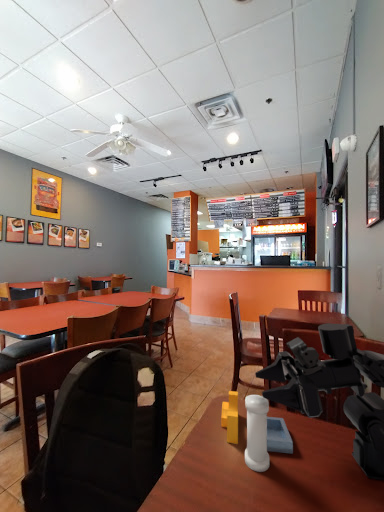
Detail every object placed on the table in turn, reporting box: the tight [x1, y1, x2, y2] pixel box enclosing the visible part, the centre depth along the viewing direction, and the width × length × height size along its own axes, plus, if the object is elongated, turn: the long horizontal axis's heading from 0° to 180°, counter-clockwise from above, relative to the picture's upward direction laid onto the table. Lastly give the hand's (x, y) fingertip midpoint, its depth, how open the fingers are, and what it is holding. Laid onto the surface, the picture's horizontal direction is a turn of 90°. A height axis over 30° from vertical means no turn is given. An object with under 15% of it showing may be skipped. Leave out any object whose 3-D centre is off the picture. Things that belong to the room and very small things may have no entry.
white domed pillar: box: [244, 394, 270, 473], centre depth 53 cm, size 5×5×13 cm
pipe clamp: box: [220, 390, 239, 445], centre depth 64 cm, size 12×4×6 cm, turn 169°
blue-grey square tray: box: [267, 416, 294, 455], centre depth 60 cm, size 9×9×2 cm
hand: (258, 384), depth 55 cm, fingers open, 9 cm apart
